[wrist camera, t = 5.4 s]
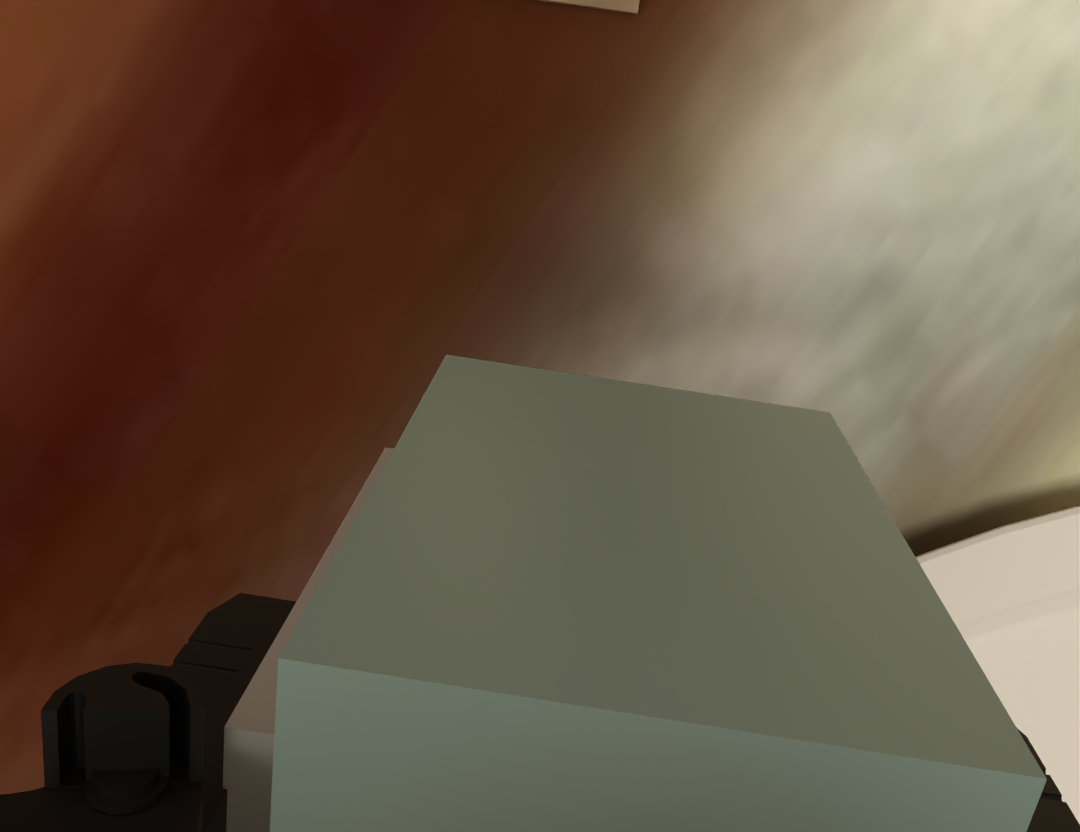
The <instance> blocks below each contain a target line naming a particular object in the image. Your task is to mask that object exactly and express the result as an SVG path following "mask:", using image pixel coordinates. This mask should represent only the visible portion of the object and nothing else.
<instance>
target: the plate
mask: <svg viewBox="0 0 1080 832" xmlns="http://www.w3.org/2000/svg"><path fill="white" fill-rule="evenodd" d="M916 559H917V561H918V562H919V564H920V566H921V567H922V569H923V571H924V572H925V574H926V576H927V577H928V579H929V581H930V583H931V584H932V586H933V588H934V589H935V591H936V593H937V594H938V596H939V598H940V599H941V601H942V603H943V604H944V606H945V608H946V610H947V611H948V613H949V615H950V616H951V618H952V620H953V621H954V623H955V625H956V626H957V628H958V630H959V631H960V633H961V635H962V637H963V638H964V640H965V642H966V643H967V645H968V647H969V648H970V650H971V652H972V653H973V655H974V657H975V658H976V660H977V662H978V664H979V665H980V667H981V669H982V670H983V672H984V674H985V675H986V677H987V679H988V680H989V682H990V684H991V685H992V687H993V689H994V691H995V692H996V694H997V696H998V697H999V699H1000V701H1001V702H1002V704H1003V706H1004V707H1005V709H1006V711H1007V712H1008V714H1009V716H1010V717H1011V719H1012V721H1013V723H1014V724H1015V726H1016V727H1017V728H1018V729H1019V730H1020V731H1021V732H1022V733H1023V734H1024V735H1026V736H1027V738H1028V739H1029V741H1030V743H1031V744H1032V746H1033V748H1034V749H1035V751H1036V753H1037V754H1038V756H1039V758H1040V759H1041V761H1042V763H1043V764H1044V766H1045V768H1046V775H1050V776H1051V778H1052V779H1053V781H1054V783H1055V784H1056V786H1057V788H1058V789H1059V791H1060V793H1061V794H1062V802H1066V803H1067V804H1068V806H1069V808H1070V809H1071V811H1072V813H1073V814H1074V816H1075V818H1076V819H1077V821H1078V823H1079V824H1080V506H1075V507H1070V508H1067V509H1063V510H1059V511H1056V512H1052V513H1048V514H1044V515H1041V516H1037V517H1033V518H1030V519H1026V520H1022V521H1019V522H1015V523H1011V524H1008V525H1004V526H1000V527H997V528H995V529H992V530H989V531H986V532H983V533H980V534H978V535H975V536H972V537H969V538H966V539H963V540H961V541H958V542H955V543H952V544H949V545H946V546H944V547H941V548H938V549H935V550H932V551H929V552H927V553H924V554H921V555H919V556H916Z"/></svg>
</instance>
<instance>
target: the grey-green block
mask: <svg viewBox="0 0 1080 832" xmlns="http://www.w3.org/2000/svg"><path fill="white" fill-rule="evenodd" d="M1046 781H1047V778H1046V777H1045V775H1044V773H1043V771H1042V770H1041V768H1040V766H1039V765H1038V763H1037V761H1036V760H1035V758H1034V756H1033V755H1032V753H1031V751H1030V750H1029V748H1028V746H1027V744H1026V743H1025V741H1024V739H1023V738H1022V736H1021V734H1020V733H1019V731H1018V729H1017V728H1016V726H1015V724H1014V723H1013V721H1012V719H1011V717H1010V716H1009V714H1008V712H1007V711H1006V709H1005V707H1004V706H1003V704H1002V702H1001V701H1000V699H999V697H998V696H997V694H996V692H995V691H994V689H993V687H992V685H991V684H990V682H989V680H988V679H987V677H986V675H985V674H984V672H983V670H982V669H981V667H980V665H979V664H978V662H977V660H976V658H975V657H974V655H973V653H972V652H971V650H970V648H969V647H968V645H967V643H966V642H965V640H964V638H963V637H962V635H961V633H960V631H959V630H958V628H957V626H956V625H955V623H954V621H953V620H952V618H951V616H950V615H949V613H948V611H947V610H946V608H945V606H944V604H943V603H942V601H941V599H940V598H939V596H938V594H937V593H936V591H935V589H934V588H933V586H932V584H931V583H930V581H929V579H928V577H927V576H926V574H925V572H924V571H923V569H922V567H921V566H920V564H919V562H918V561H917V559H916V557H915V556H914V554H913V552H912V550H911V549H910V547H909V545H908V544H907V542H906V540H905V539H904V537H903V535H902V534H901V532H900V530H899V529H898V527H897V525H896V523H895V522H894V520H893V518H892V517H891V515H890V513H889V512H888V510H887V508H886V507H885V505H884V503H883V502H882V500H881V498H880V496H879V495H878V493H877V491H876V490H875V488H874V486H873V485H872V483H871V481H870V480H869V478H868V476H867V475H866V473H865V471H864V469H863V468H862V466H861V464H860V463H859V461H858V459H857V458H856V456H855V454H854V453H853V451H852V449H851V448H850V446H849V444H848V442H847V441H846V439H845V437H844V436H843V434H842V432H841V431H840V429H839V427H838V426H837V424H836V422H835V421H834V419H833V417H832V415H831V414H830V413H829V412H823V411H816V410H810V409H803V408H796V407H790V406H783V405H776V404H770V403H763V402H757V401H750V400H743V399H737V398H730V397H723V396H717V395H710V394H704V393H697V392H690V391H684V390H677V389H671V388H664V387H657V386H651V385H644V384H637V383H631V382H624V381H618V380H611V379H604V378H598V377H591V376H584V375H578V374H571V373H565V372H558V371H551V370H545V369H538V368H531V367H525V366H518V365H512V364H505V363H498V362H492V361H485V360H479V359H472V358H465V357H459V356H452V355H446V356H445V358H444V359H443V361H442V363H441V365H440V367H439V368H438V370H437V372H436V374H435V376H434V377H433V379H432V381H431V383H430V385H429V386H428V388H427V390H426V392H425V394H424V396H423V397H422V399H421V401H420V403H419V405H418V406H417V408H416V410H415V412H414V414H413V415H412V417H411V419H410V421H409V423H408V424H407V426H406V428H405V430H404V432H403V433H402V435H401V437H400V439H399V441H398V443H397V444H396V446H395V448H394V450H393V452H392V453H391V455H390V457H389V459H388V461H387V462H386V464H385V466H384V468H383V470H382V471H381V473H380V475H379V477H378V479H377V480H376V482H375V484H374V486H373V488H372V490H371V491H370V493H369V495H368V497H367V499H366V500H365V502H364V504H363V506H362V508H361V509H360V511H359V513H358V515H357V517H356V518H355V520H354V522H353V524H352V526H351V528H350V529H349V531H348V533H347V535H346V537H345V538H344V540H343V542H342V544H341V546H340V547H339V549H338V551H337V553H336V555H335V556H334V558H333V560H332V562H331V564H330V565H329V567H328V569H327V571H326V573H325V575H324V576H323V578H322V580H321V582H320V584H319V585H318V587H317V589H316V591H315V593H314V594H313V596H312V598H311V600H310V602H309V603H308V605H307V607H306V609H305V611H304V612H303V614H302V616H301V618H300V620H299V622H298V623H297V625H296V627H295V629H294V631H293V632H292V634H291V636H290V638H289V640H288V641H287V643H286V645H285V647H284V649H283V650H282V652H281V654H280V656H279V658H278V673H277V693H276V713H275V733H274V753H273V774H272V794H271V814H270V832H1027V829H1028V827H1029V824H1030V821H1031V819H1032V816H1033V814H1034V811H1035V809H1036V806H1037V804H1038V801H1039V798H1040V796H1041V793H1042V791H1043V788H1044V786H1045V783H1046Z"/></svg>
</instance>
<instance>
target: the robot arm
mask: <svg viewBox="0 0 1080 832" xmlns="http://www.w3.org/2000/svg"><path fill="white" fill-rule="evenodd" d="M393 450H394V449H393V448H387V447H385V449H384V451H383V452H382V454H381V456H380V457H379V459H378V461H377V463H376V464H375V466H374V468H373V470H372V471H371V473H370V475H369V477H368V478H367V480H366V482H365V484H364V485H363V487H362V489H361V490H360V492H359V494H358V496H357V497H356V499H355V501H354V503H353V504H352V506H351V508H350V510H349V511H348V513H347V515H346V517H345V518H344V520H343V522H342V523H341V525H340V527H339V529H338V530H337V532H336V534H335V536H334V537H333V539H332V541H331V543H330V544H329V546H328V548H327V550H326V551H325V553H324V555H323V556H322V558H321V560H320V562H319V563H318V565H317V567H316V569H315V570H314V572H313V574H312V576H311V577H310V579H309V581H308V583H307V584H306V586H305V588H304V589H303V591H302V593H301V595H300V596H299V598H298V600H297V602H295V601H288V600H282V599H275V598H269V597H262V596H256V595H249V594H243V593H240V594H238V595H236V596H235V597H233V598H231V599H230V600H228V601H226V602H225V603H223V604H221V605H220V606H218V607H217V608H215V609H213V610H212V611H210V612H208V613H207V614H206V616H205V617H204V619H203V620H202V621H201V623H200V624H199V626H198V627H197V628H196V630H195V631H194V632H193V634H192V635H191V637H190V638H189V642H188V644H185V645H184V646H183V648H182V649H181V650H180V652H179V653H178V655H177V656H176V657H175V659H174V661H173V665H172V666H169V667H167V666H162V665H152V664H142V663H132V664H124V665H115V666H107V667H104V668H101V669H98V670H95V671H92V672H89V673H86V674H83V675H80V676H78V677H76V678H74V679H73V680H71V681H70V682H68V683H67V684H65V685H64V686H62V687H61V688H59V689H58V690H56V691H55V692H54V693H53V694H52V696H51V697H50V699H49V700H48V701H47V703H46V704H45V706H44V707H43V708H42V710H41V719H42V739H43V758H44V777H45V787H43V788H40V789H37V790H32V791H26V792H19V793H13V794H4V795H0V832H270V814H271V794H272V774H273V753H274V733H275V713H276V693H277V673H278V658H279V656H280V654H281V652H282V650H283V649H284V647H285V645H286V643H287V641H288V640H289V638H290V636H291V634H292V632H293V631H294V629H295V627H296V625H297V623H298V622H299V620H300V618H301V616H302V614H303V612H304V611H305V609H306V607H307V605H308V603H309V602H310V600H311V598H312V596H313V594H314V593H315V591H316V589H317V587H318V585H319V584H320V582H321V580H322V578H323V576H324V575H325V573H326V571H327V569H328V567H329V565H330V564H331V562H332V560H333V558H334V556H335V555H336V553H337V551H338V549H339V547H340V546H341V544H342V542H343V540H344V538H345V537H346V535H347V533H348V531H349V529H350V528H351V526H352V524H353V522H354V520H355V518H356V517H357V515H358V513H359V511H360V509H361V508H362V506H363V504H364V502H365V500H366V499H367V497H368V495H369V493H370V491H371V490H372V488H373V486H374V484H375V482H376V480H377V479H378V477H379V475H380V473H381V471H382V470H383V468H384V466H385V464H386V462H387V461H388V459H389V457H390V455H391V453H392V452H393ZM1016 728H1017V727H1016ZM1017 729H1018V728H1017ZM1018 731H1019V733H1020V734H1021V736H1022V738H1023V739H1024V741H1025V743H1026V744H1027V746H1028V748H1029V750H1030V751H1031V753H1032V755H1033V756H1034V758H1035V760H1036V761H1037V763H1038V765H1039V766H1040V768H1041V770H1042V771H1043V773H1044V775H1045V777H1046V778H1047V781H1046V783H1045V786H1044V788H1043V791H1042V793H1041V796H1040V798H1039V801H1038V804H1037V806H1036V809H1035V811H1034V814H1033V816H1032V819H1031V821H1030V824H1029V827H1028V829H1027V832H1080V824H1079V823H1078V821H1077V819H1076V818H1075V816H1074V814H1073V813H1072V811H1071V809H1070V808H1069V806H1068V804H1067V803H1066V802H1062V794H1061V793H1060V791H1059V789H1058V788H1057V786H1056V784H1055V783H1054V781H1053V779H1052V778H1051V776H1050V775H1046V768H1045V766H1044V764H1043V763H1042V761H1041V759H1040V758H1039V756H1038V754H1037V753H1036V751H1035V749H1034V748H1033V746H1032V744H1031V743H1030V741H1029V739H1028V738H1027V736H1026V735H1024V734H1023V733H1022V732H1021V731H1020V730H1019V729H1018Z"/></svg>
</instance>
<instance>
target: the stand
mask: <svg viewBox="0 0 1080 832" xmlns="http://www.w3.org/2000/svg"><path fill="white" fill-rule="evenodd" d="M538 1H546V2H553V3H560V4H567V5H574V6H581V7H588V8H595V9H602V10H609V11H616V12H623V13H630V14H638V8H639V2H640V0H538Z"/></svg>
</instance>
